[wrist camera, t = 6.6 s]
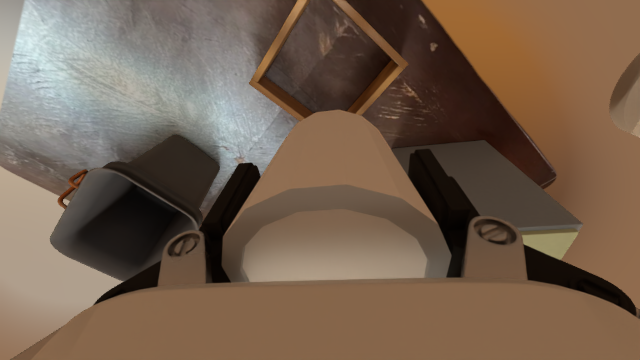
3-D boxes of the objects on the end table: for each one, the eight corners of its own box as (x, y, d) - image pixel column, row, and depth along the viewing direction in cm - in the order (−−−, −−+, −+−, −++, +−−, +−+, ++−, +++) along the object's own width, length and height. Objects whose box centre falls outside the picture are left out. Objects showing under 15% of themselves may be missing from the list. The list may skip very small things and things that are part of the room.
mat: (575, 228, 23) (579, 231, 23) (527, 301, 31) (529, 305, 30) (433, 236, 25) (434, 240, 24) (419, 305, 32) (420, 309, 32)
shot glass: (272, 204, 15) (235, 323, 9) (265, 90, 11) (193, 175, 6) (384, 213, 15) (414, 338, 9) (416, 102, 11) (501, 200, 5)
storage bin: (182, 225, 51) (138, 290, 39) (104, 180, 45) (24, 241, 33) (242, 165, 42) (209, 227, 30) (155, 99, 36) (71, 143, 24)
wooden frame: (317, -26, 27) (315, -31, 24) (400, 58, 32) (408, 63, 28) (256, 76, 34) (248, 83, 30) (333, 134, 38) (333, 146, 35)
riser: (484, 139, 38) (583, 223, 23) (465, 208, 46) (530, 304, 31) (391, 148, 39) (428, 233, 24) (388, 213, 47) (415, 307, 32)
